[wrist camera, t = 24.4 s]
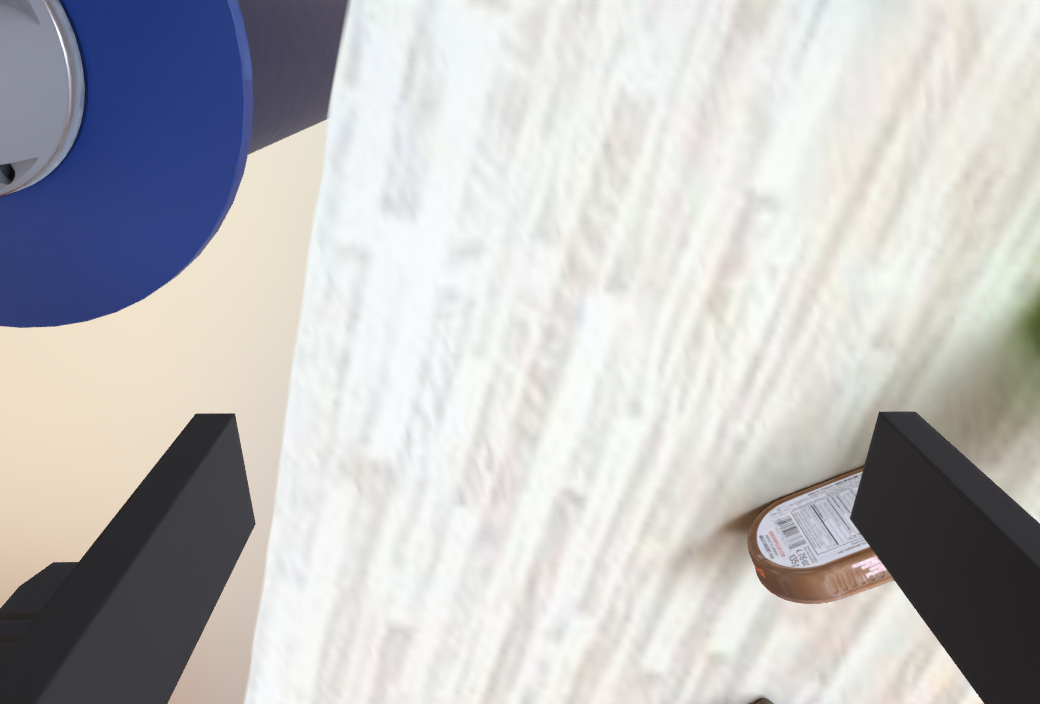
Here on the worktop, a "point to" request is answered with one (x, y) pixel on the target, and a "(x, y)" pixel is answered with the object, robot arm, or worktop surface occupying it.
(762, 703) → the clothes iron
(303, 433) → the worktop surface
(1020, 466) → the worktop surface
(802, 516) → the tin
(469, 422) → the worktop surface
